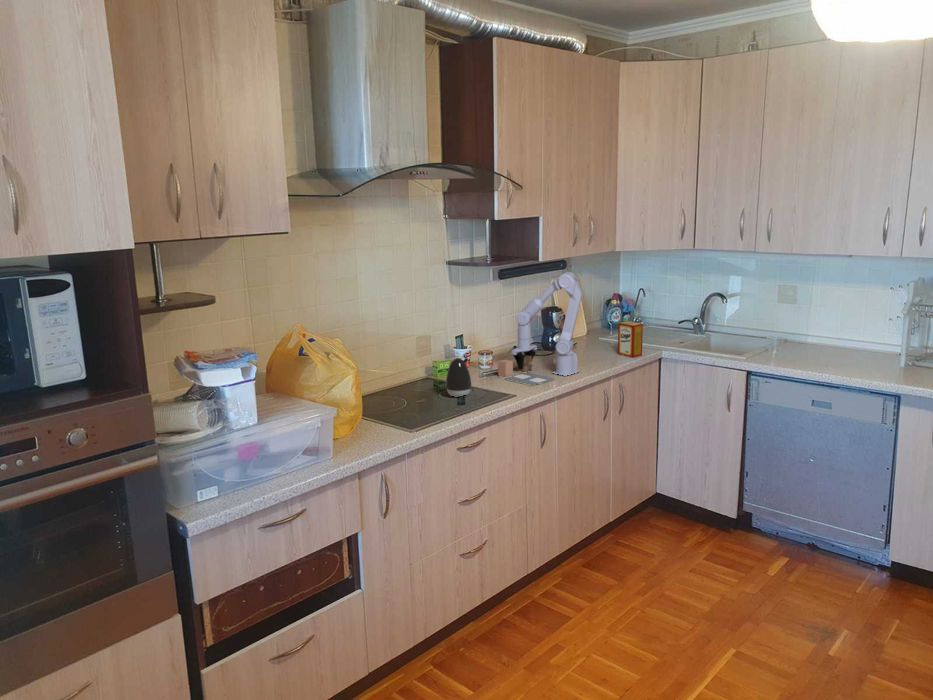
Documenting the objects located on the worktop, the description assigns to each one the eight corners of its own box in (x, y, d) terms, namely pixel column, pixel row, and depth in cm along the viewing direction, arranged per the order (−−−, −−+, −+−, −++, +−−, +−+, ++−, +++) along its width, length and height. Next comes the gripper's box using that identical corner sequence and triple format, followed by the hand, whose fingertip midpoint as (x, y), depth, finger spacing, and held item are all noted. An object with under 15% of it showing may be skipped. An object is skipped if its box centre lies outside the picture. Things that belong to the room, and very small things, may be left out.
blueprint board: (527, 373, 312) (527, 372, 312) (554, 379, 300) (554, 378, 300) (504, 379, 303) (504, 378, 303) (532, 386, 291) (532, 384, 291)
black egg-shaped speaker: (477, 395, 280) (476, 357, 277) (458, 401, 273) (457, 362, 270) (459, 390, 287) (458, 354, 284) (440, 396, 280) (439, 358, 277)
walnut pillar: (524, 369, 319) (524, 354, 317) (531, 371, 316) (531, 356, 314) (517, 371, 316) (517, 356, 315) (524, 373, 313) (524, 357, 311)
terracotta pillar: (505, 374, 311) (505, 359, 310) (512, 376, 308) (512, 360, 306) (498, 376, 308) (498, 361, 307) (505, 378, 305) (505, 362, 303)
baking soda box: (641, 355, 341) (642, 323, 337) (632, 357, 337) (633, 324, 334) (627, 352, 348) (627, 320, 345) (617, 354, 345) (618, 322, 341)
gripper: (528, 334, 320) (528, 363, 323) (506, 339, 311) (506, 369, 314) (540, 336, 315) (540, 366, 318) (517, 341, 306) (518, 372, 309)
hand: (524, 368), depth 316 cm, fingers closed on walnut pillar, 4 cm apart
